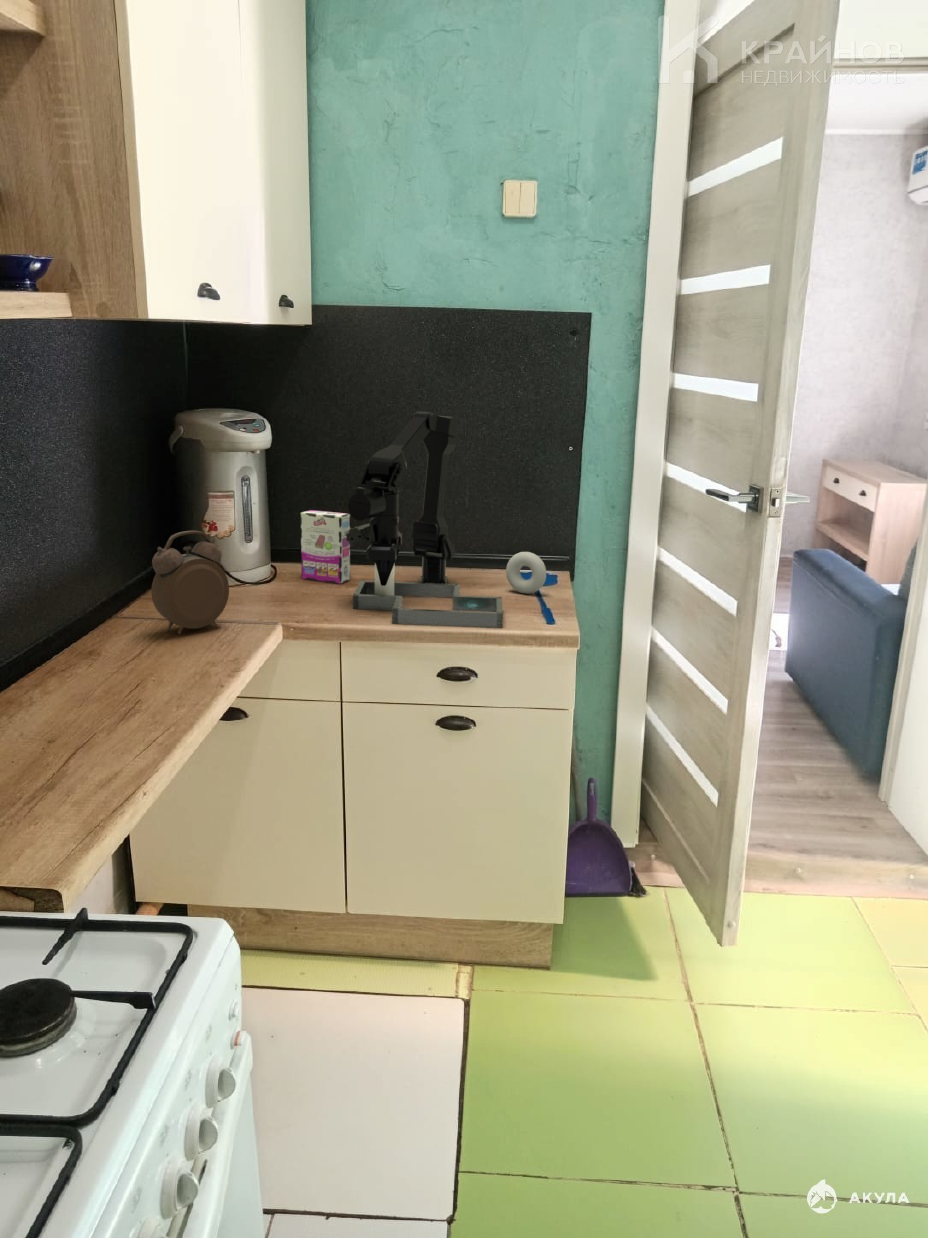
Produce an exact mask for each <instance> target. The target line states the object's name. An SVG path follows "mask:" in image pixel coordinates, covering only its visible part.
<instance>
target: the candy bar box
mask: <svg viewBox="0 0 928 1238" xmlns="http://www.w3.org/2000/svg"><path fill="white" fill-rule="evenodd" d="M350 528H351V514H350V513H345V512H344V513H343V512H333V511H325V510H324V511H323V510H313V509H310V510H305V511H302V512H300V550H301V551H300V554H301V555H300V556H301V557H300V558H301V559H300V560H301V580H309V581H315V582H324V583H330V584H339V585H341V584H345V583H346V582H349V581H350V580H351V547H350V545H349V542H348V541H347V540H346V539H347V537H346V534H345V533H346V532H347V531H348V530H350Z"/></svg>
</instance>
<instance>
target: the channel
mask: <svg viewBox="0 0 928 1238" xmlns="http://www.w3.org/2000/svg"><path fill="white" fill-rule="evenodd" d="M460 590H461V583H447V584H444V583H420V582H415V581H414V582H411V581H394V596H391V595H375V580H360V581H359V582H358V585H357V586H356V589H355V591H354V592H353V595H352V609H353V610H372V611H373V610H379V611H391V624H392V625H393V624H395V625H415V626H416V625H418V626H419V625H420V626H444V627H445V626H446V627H448V626H449V627H470V628H471V627H473V628H495V629H496V628H499V629H502V628H503V615H504V613H503V597H502V596H487V595H486V596H485V595H484V596H483V595H460V592H461V591H460ZM404 597H421V598H422V597H424V598H445V597H453V598H452V610H449V609H423V608H403V598H404ZM472 610H475V611H472Z"/></svg>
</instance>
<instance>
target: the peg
mask: <svg viewBox="0 0 928 1238" xmlns="http://www.w3.org/2000/svg"><path fill="white" fill-rule="evenodd" d="M395 564H396V562H395V563H394V566H393V568H392V571H391V573H390V576H389V579H388V581H387V584H386V585H385V586H382V585H381V583H380V579H379V575H378V570H377V566H376V564H375V563H374V581H375V595H391V596H394V582H395V572H396V571H395V567H396V565H395Z"/></svg>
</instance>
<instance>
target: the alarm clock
mask: <svg viewBox="0 0 928 1238" xmlns="http://www.w3.org/2000/svg"><path fill="white" fill-rule="evenodd" d="M195 534H197V535H201V536H202V537H203V538H204V541H199V542H197V543H196V544H195V545H194V547H192V546H190V545H188V546H184V547H183V548H182V550H183V551H186V553H184V554H183V553H182V554H181V552H180V551H179V550H178V549H176V548H173V547H171V545H172V544H173V541H174V540H175V539H177V538H179V537H181V536H187V535H195ZM215 539H216V538H214V537H211V538H210V537H208V535H207V534H206V533H205V532H203V531H200V530H199V531H198V530H186V531H180V532H177V533H174V534H171V535H170V537H169V538H168V539H167V542H166V543H165V545H164V548H162V547H161V546H158V547H157V552H156V553H155V554H154V555H153V557H152V560H151V565H152V568H153V570H154V572H155V575H154V577H153V581H152V582H151V583H152V584H151V589H150V590H151V599H152V602H153V603H152V604H153V605H154V608H155V610H156V611H157V612H158V613H159V615H160V616H162V617H163V618H165V620H167V621H169V623H168V626H167V628H166V632H167V631H169V632H170V631H171V628H172V626H174V625H176V626H178V627H179V630H178V631H177V634H178V635H180V634H182V631H183V629H184V628H185V629H186V628H187V629H192V630H193V629H201V628H205V627H206V626H208V625H210V624H213V627H218V623H216V620H217V619H218V618H219V617H221V614H223V612H224V610H225V608H226V607H227V604H228V599H229V596H230V583H229V580H228V577H227V575H226V572H225V571H224V569H223V568H222V567H221V566H220V563H221V560H222V557H223V555H222V551H221V549H220V547H219V545H217V544H215V542H216V540H215ZM189 551H191V554H190V553H189ZM192 553H193V554H192Z"/></svg>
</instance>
